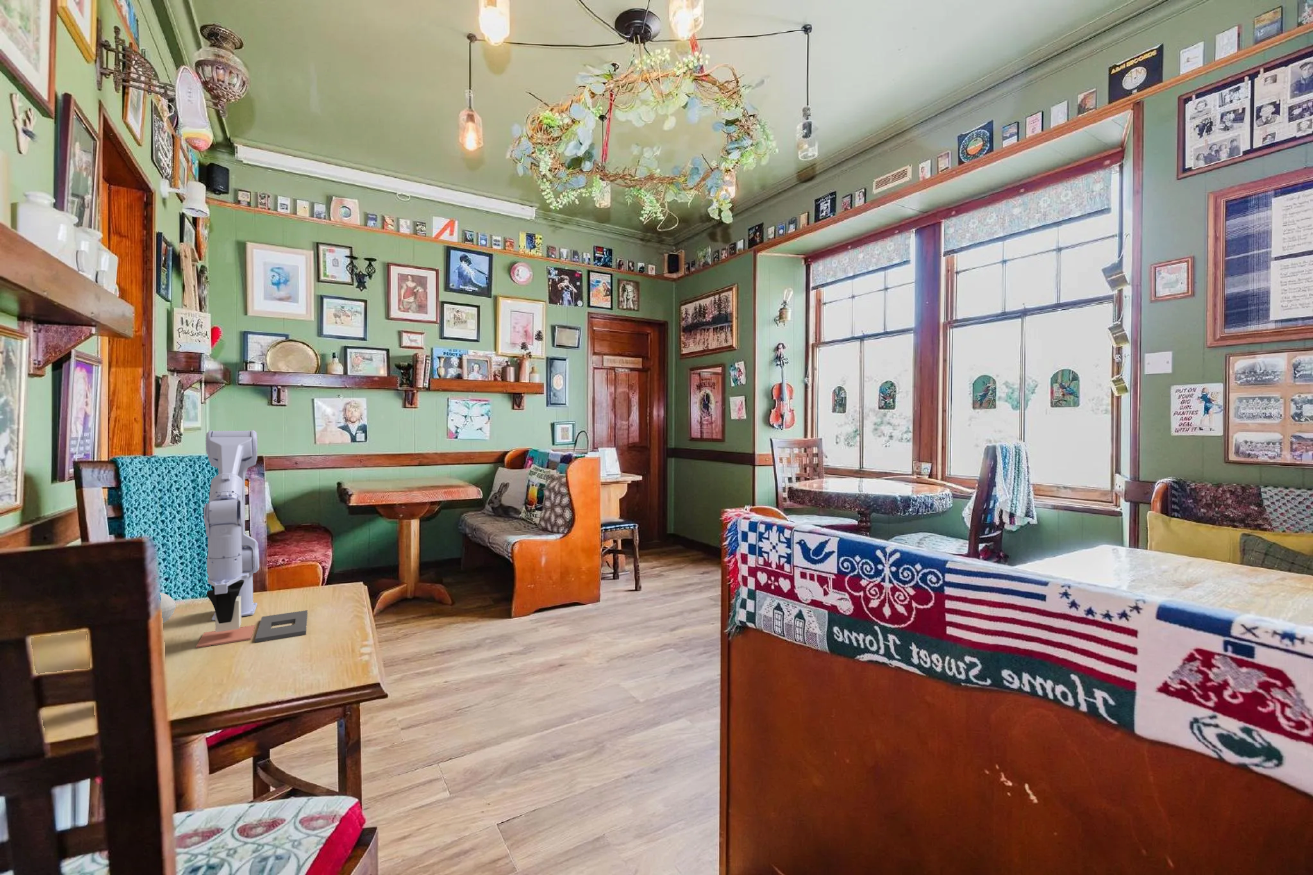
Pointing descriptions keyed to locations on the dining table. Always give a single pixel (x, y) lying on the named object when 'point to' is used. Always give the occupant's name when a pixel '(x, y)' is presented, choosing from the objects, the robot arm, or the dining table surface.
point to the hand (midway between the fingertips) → (226, 619)
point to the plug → (235, 619)
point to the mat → (226, 636)
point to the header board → (282, 632)
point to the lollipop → (167, 606)
